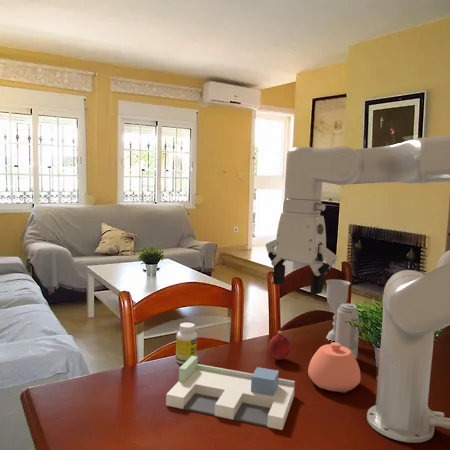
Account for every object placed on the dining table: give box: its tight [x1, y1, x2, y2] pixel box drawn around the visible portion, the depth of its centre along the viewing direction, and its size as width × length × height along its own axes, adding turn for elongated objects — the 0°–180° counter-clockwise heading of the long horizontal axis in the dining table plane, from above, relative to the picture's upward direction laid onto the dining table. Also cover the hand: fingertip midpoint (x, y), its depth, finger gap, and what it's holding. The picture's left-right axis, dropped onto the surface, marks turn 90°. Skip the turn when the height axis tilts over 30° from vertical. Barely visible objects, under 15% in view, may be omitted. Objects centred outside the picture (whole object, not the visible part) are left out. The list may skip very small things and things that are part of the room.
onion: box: [268, 330, 292, 361], centre depth 117 cm, size 6×6×8 cm
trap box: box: [165, 355, 296, 431], centre depth 95 cm, size 25×14×6 cm, turn 72°
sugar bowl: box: [307, 342, 362, 394], centre depth 105 cm, size 12×14×10 cm
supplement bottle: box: [175, 322, 198, 365], centre depth 115 cm, size 5×5×10 cm
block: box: [251, 366, 280, 396], centre depth 96 cm, size 5×5×4 cm
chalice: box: [325, 279, 351, 342], centre depth 134 cm, size 7×7×18 cm
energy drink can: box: [335, 302, 361, 360], centre depth 119 cm, size 6×6×15 cm
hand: (296, 288), depth 92 cm, fingers open, 9 cm apart
